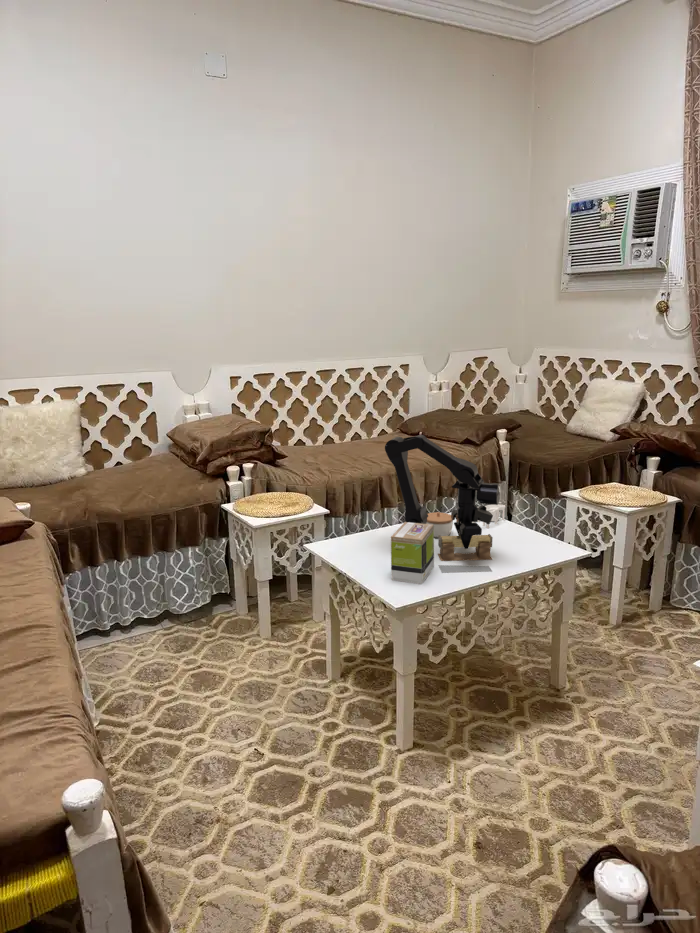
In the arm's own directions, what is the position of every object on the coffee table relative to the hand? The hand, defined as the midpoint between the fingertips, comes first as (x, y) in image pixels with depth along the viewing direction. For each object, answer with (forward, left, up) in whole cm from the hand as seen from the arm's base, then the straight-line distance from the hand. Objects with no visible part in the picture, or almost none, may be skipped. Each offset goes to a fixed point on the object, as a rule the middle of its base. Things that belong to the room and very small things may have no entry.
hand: (465, 547), depth 215 cm
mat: (-2, -9, -4) cm, 10 cm away
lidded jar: (-5, +22, -4) cm, 23 cm away
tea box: (-19, -12, -4) cm, 23 cm away
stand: (0, 0, -4) cm, 4 cm away
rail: (0, 0, 0) cm, 0 cm away
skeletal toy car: (+14, +33, -4) cm, 36 cm away
